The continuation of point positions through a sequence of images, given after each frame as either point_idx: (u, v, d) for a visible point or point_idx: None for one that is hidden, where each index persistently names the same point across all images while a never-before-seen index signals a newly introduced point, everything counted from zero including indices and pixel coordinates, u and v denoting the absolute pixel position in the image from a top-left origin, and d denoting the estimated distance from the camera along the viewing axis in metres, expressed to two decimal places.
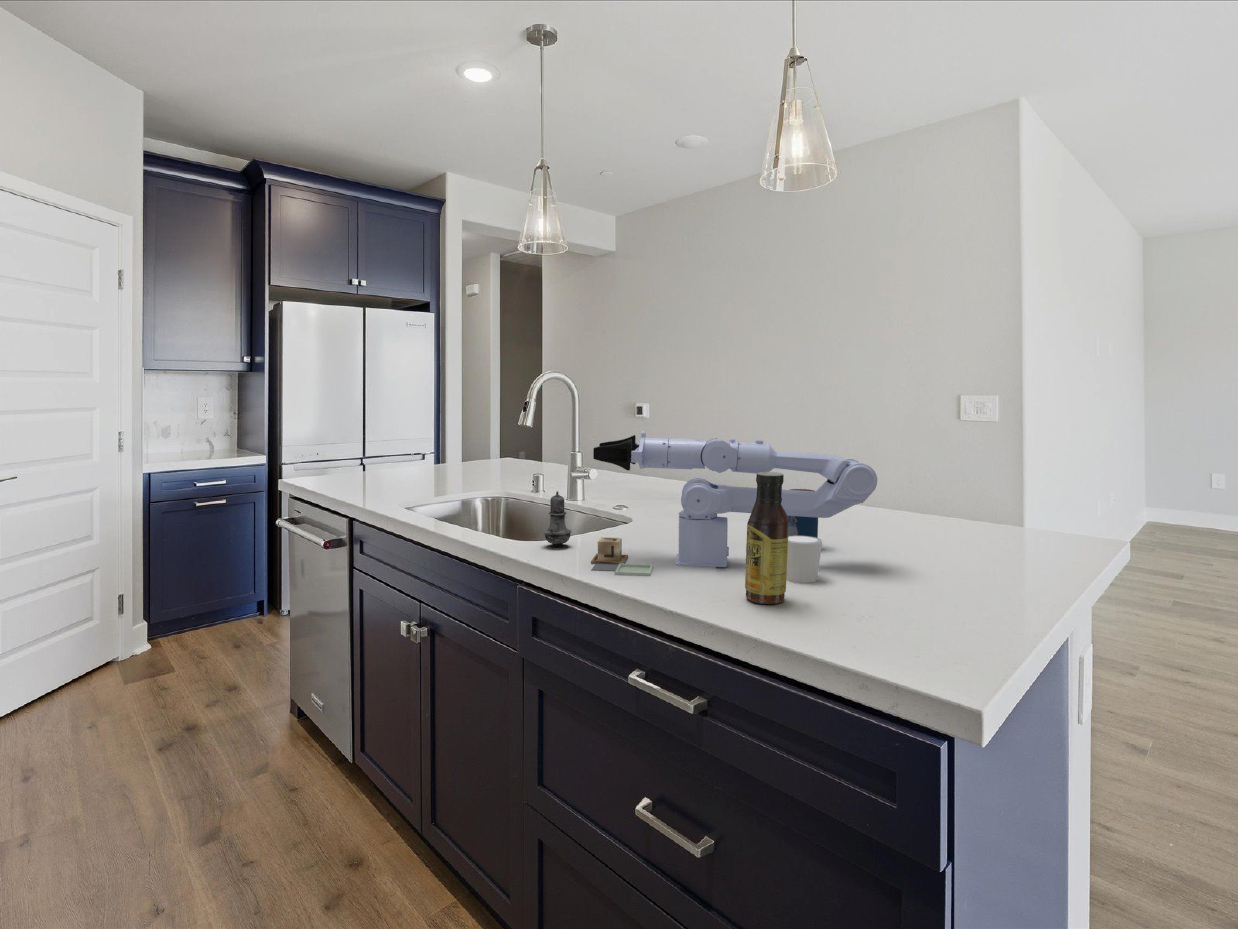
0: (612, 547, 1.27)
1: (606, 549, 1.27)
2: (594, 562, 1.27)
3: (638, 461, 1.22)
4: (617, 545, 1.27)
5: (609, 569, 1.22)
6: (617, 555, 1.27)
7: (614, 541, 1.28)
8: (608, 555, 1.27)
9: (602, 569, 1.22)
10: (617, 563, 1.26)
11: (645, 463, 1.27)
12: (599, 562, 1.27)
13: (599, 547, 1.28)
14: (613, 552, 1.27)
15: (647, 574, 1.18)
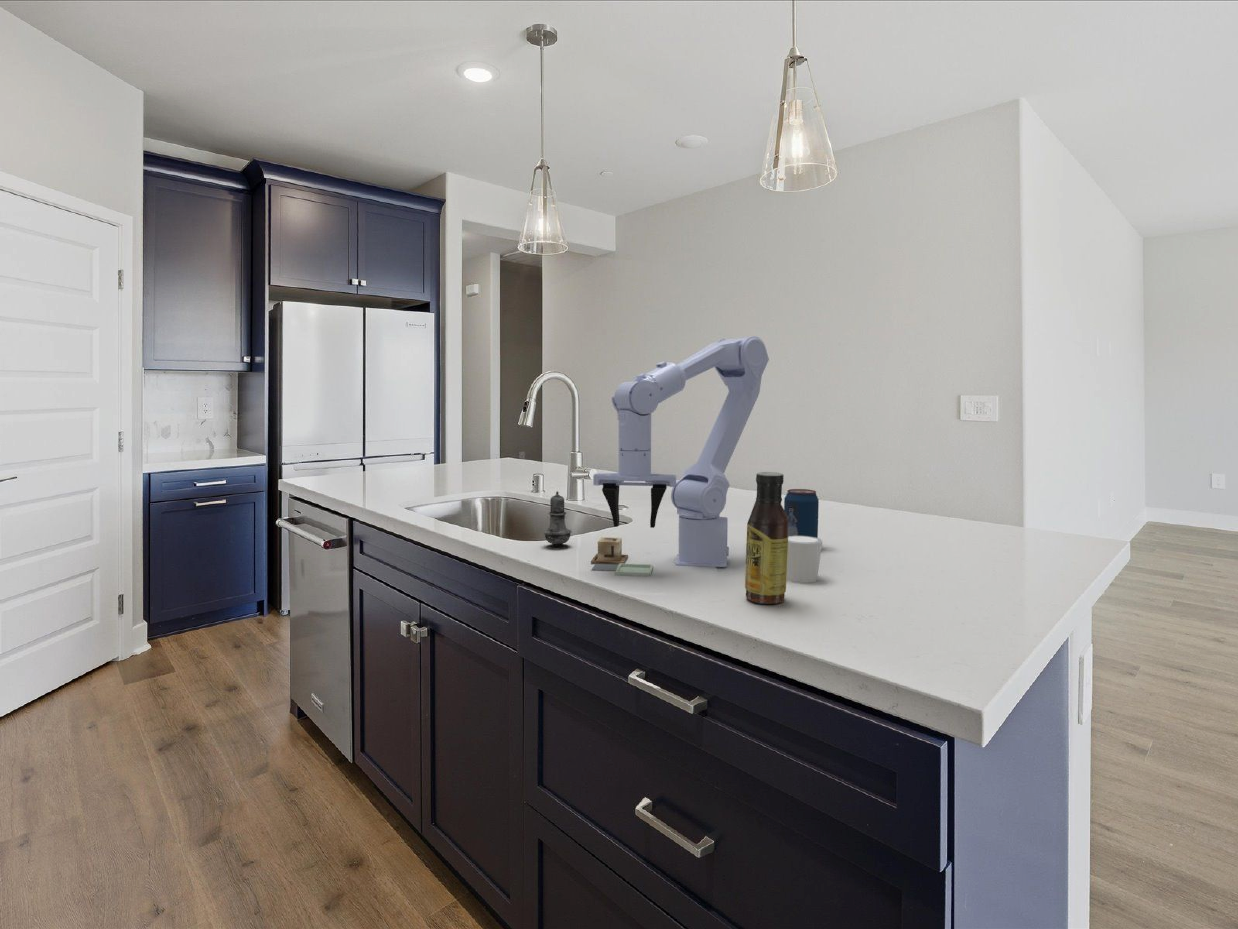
0: (612, 547, 1.27)
1: (606, 549, 1.27)
2: (594, 562, 1.27)
3: None
4: (617, 545, 1.27)
5: (609, 569, 1.22)
6: (617, 555, 1.27)
7: (614, 541, 1.28)
8: (608, 555, 1.27)
9: (602, 569, 1.22)
10: (617, 563, 1.26)
11: None
12: (599, 562, 1.27)
13: (599, 547, 1.28)
14: (613, 552, 1.27)
15: (647, 574, 1.18)
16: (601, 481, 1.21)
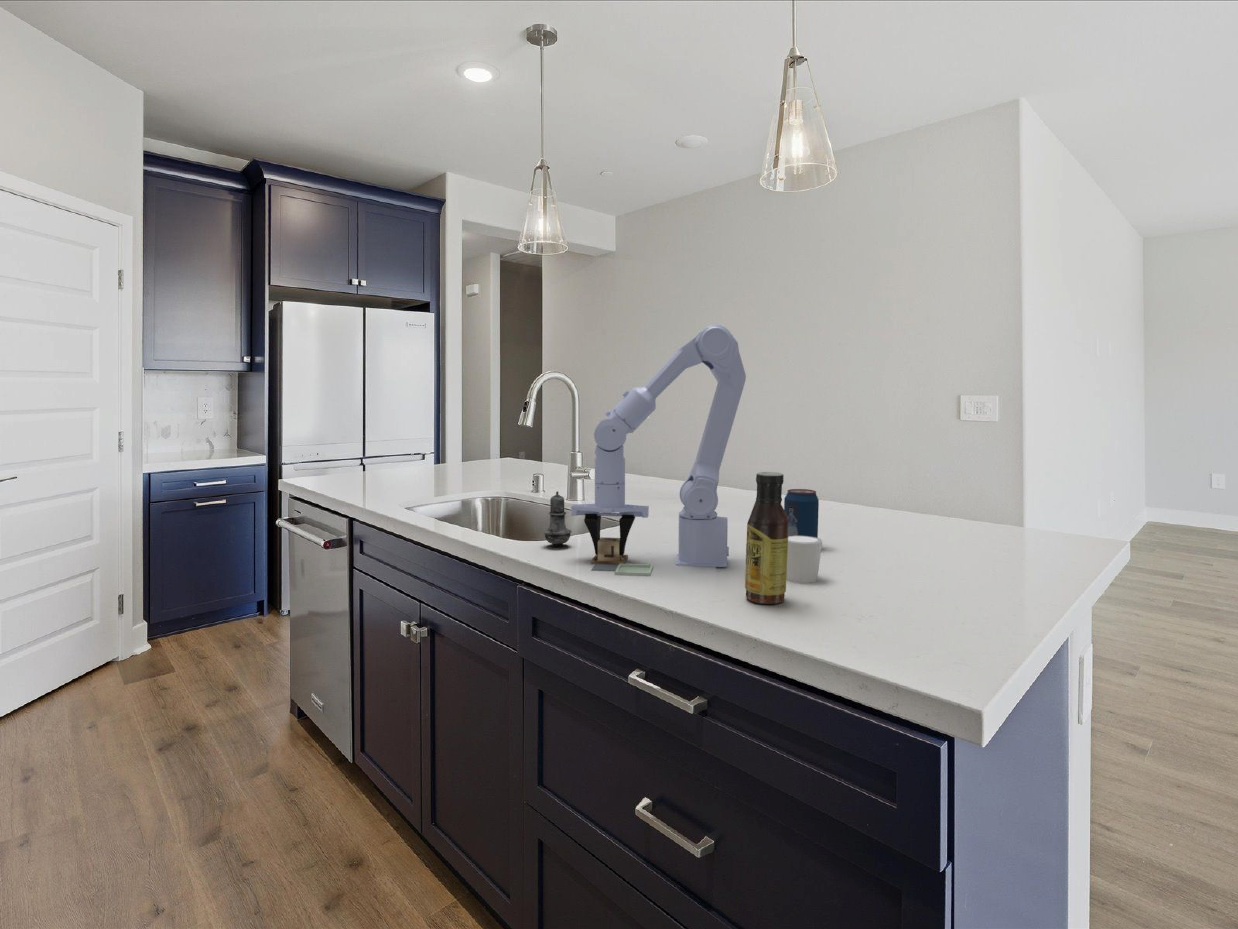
0: (612, 547, 1.27)
1: (606, 549, 1.27)
2: (594, 562, 1.27)
3: (648, 509, 1.28)
4: (617, 545, 1.27)
5: (609, 569, 1.22)
6: (617, 555, 1.27)
7: (614, 541, 1.28)
8: (608, 555, 1.27)
9: (602, 569, 1.22)
10: (617, 563, 1.26)
11: None
12: (599, 562, 1.27)
13: (599, 547, 1.28)
14: (613, 552, 1.27)
15: (647, 574, 1.18)
16: (578, 511, 1.29)
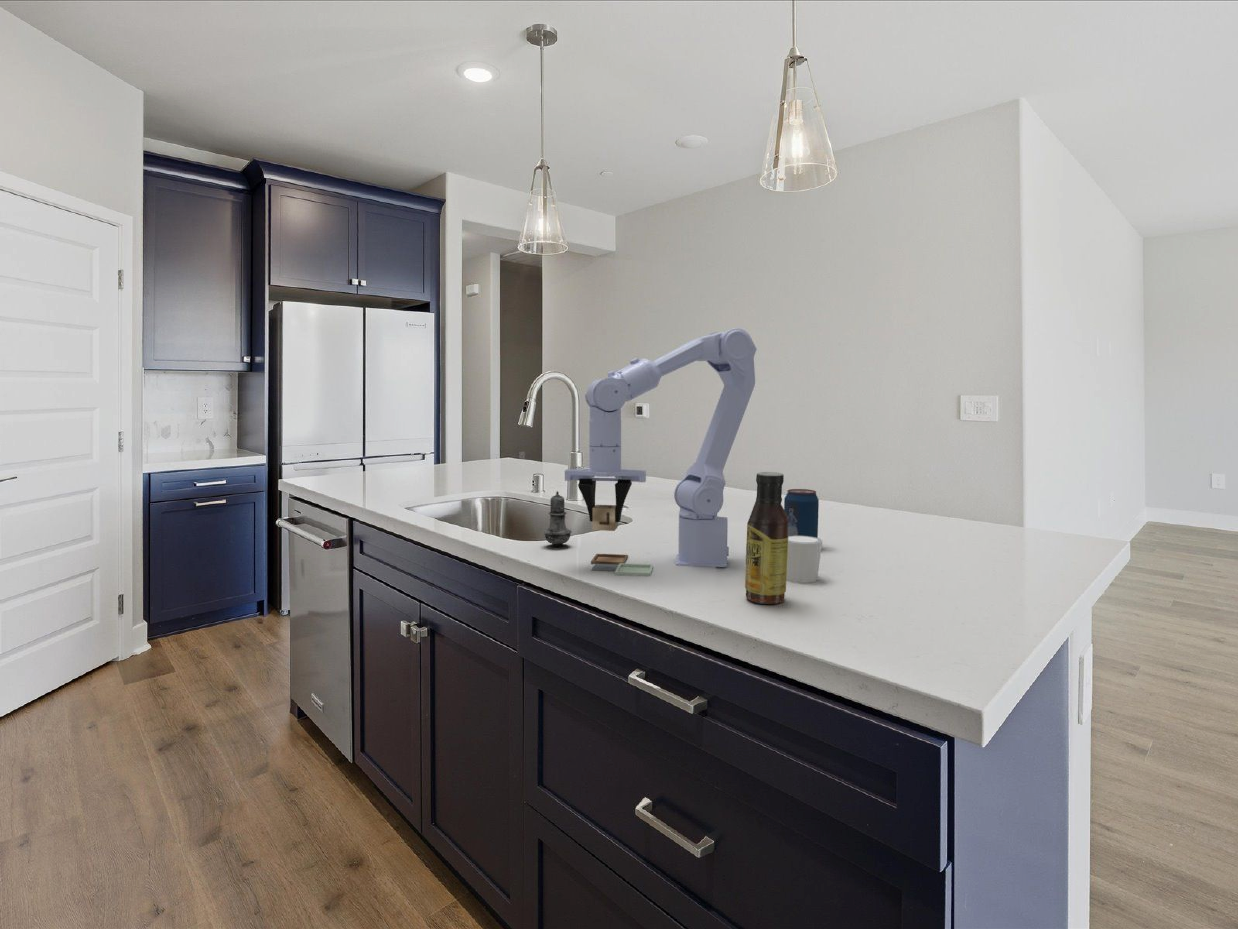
0: (608, 514, 1.21)
1: (601, 516, 1.21)
2: (594, 562, 1.27)
3: (645, 473, 1.22)
4: (613, 512, 1.21)
5: (609, 569, 1.22)
6: (613, 522, 1.21)
7: (610, 508, 1.22)
8: (603, 522, 1.21)
9: (602, 569, 1.22)
10: (617, 563, 1.26)
11: None
12: (599, 562, 1.27)
13: (594, 514, 1.22)
14: (609, 519, 1.21)
15: (647, 574, 1.18)
16: (572, 476, 1.23)
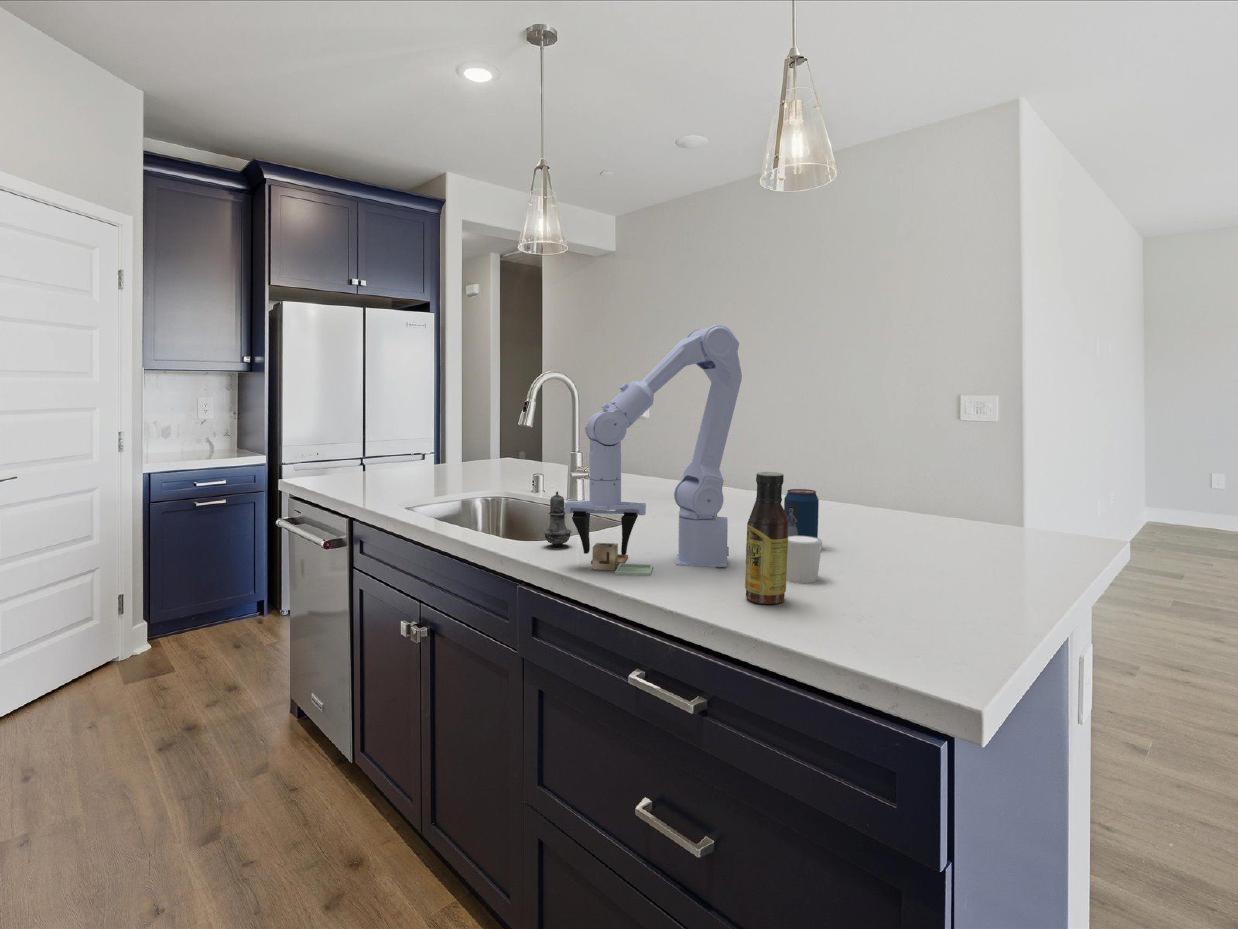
0: (608, 554, 1.22)
1: (601, 555, 1.22)
2: None
3: (645, 506, 1.23)
4: (613, 551, 1.22)
5: None
6: (613, 561, 1.22)
7: (610, 547, 1.22)
8: (603, 561, 1.22)
9: None
10: None
11: None
12: None
13: (594, 553, 1.22)
14: (609, 559, 1.22)
15: (647, 574, 1.18)
16: (572, 509, 1.24)
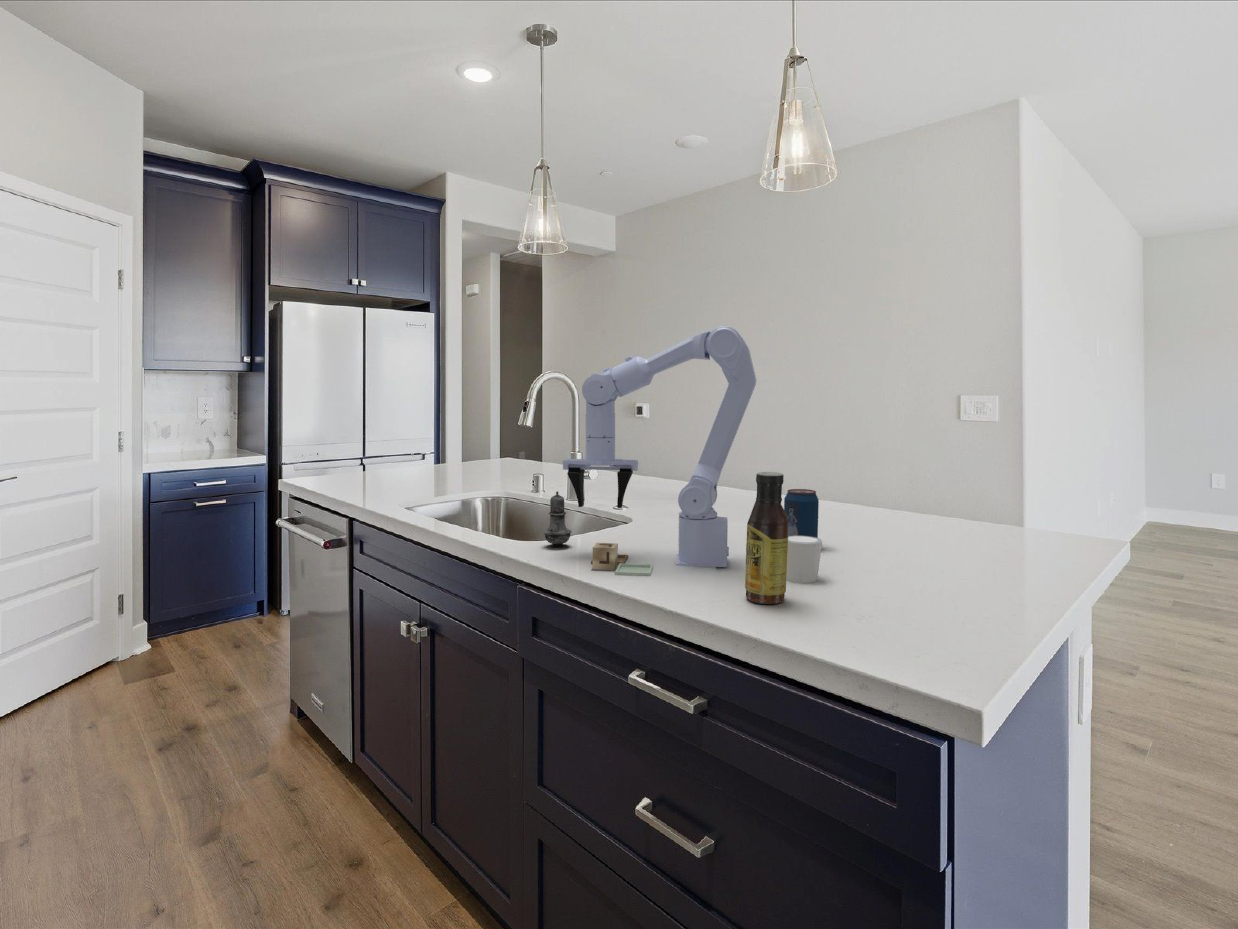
0: (608, 554, 1.22)
1: (601, 555, 1.22)
2: None
3: None
4: (613, 551, 1.22)
5: None
6: (613, 561, 1.22)
7: (610, 547, 1.22)
8: (603, 561, 1.22)
9: None
10: None
11: None
12: None
13: (594, 553, 1.22)
14: (609, 559, 1.22)
15: (647, 574, 1.18)
16: (570, 466, 1.33)
